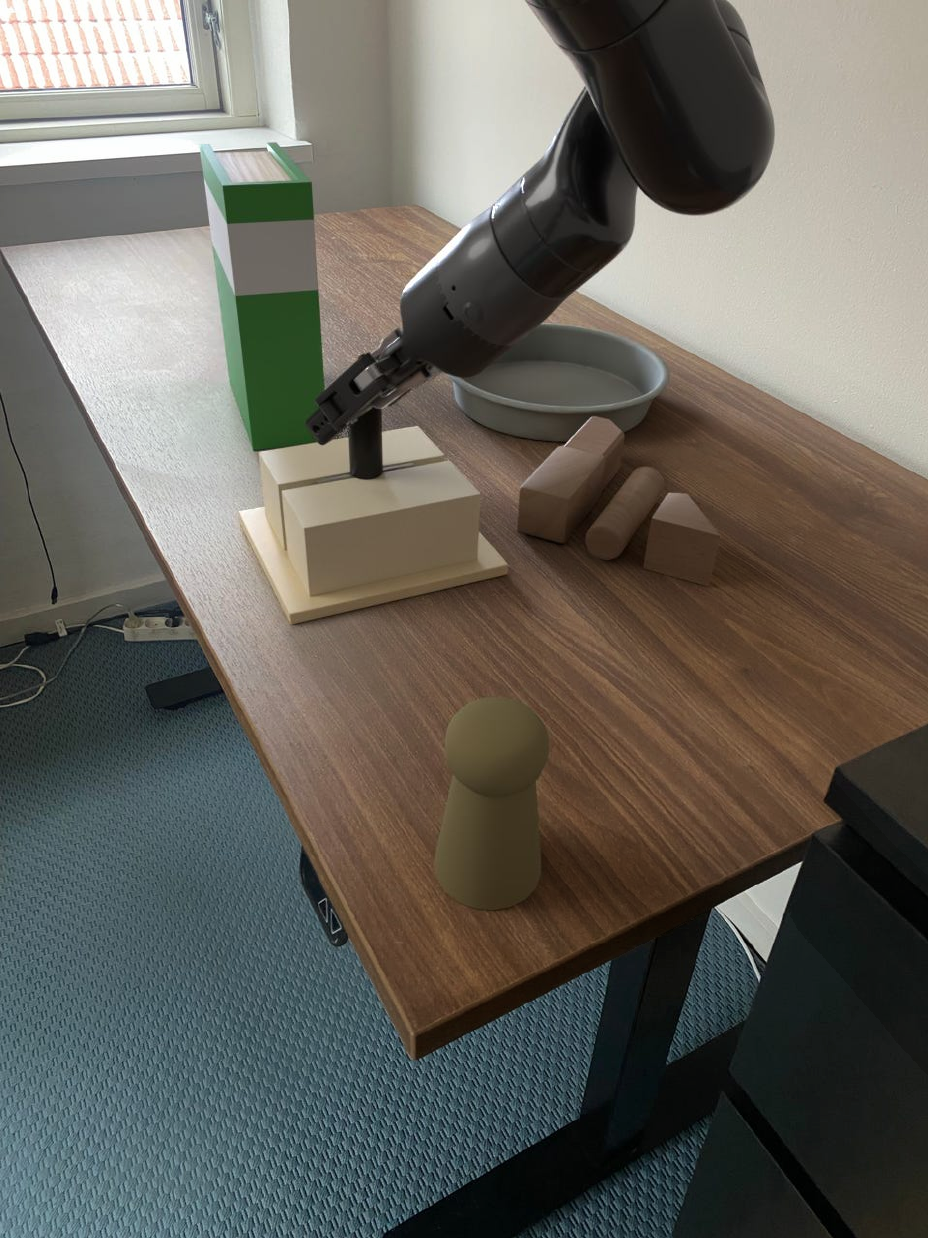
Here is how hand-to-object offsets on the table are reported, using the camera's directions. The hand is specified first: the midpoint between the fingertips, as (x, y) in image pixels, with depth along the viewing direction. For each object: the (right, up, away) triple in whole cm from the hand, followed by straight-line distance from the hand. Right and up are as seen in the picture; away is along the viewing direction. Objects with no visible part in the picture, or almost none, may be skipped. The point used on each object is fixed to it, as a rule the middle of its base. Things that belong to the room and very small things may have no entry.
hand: (350, 413), depth 71 cm
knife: (+1, -9, +6) cm, 11 cm away
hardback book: (-11, +6, +27) cm, 30 cm away
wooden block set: (+24, -7, +12) cm, 28 cm away
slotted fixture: (+1, -10, +6) cm, 12 cm away
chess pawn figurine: (+10, -30, -19) cm, 37 cm away
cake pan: (+18, +8, +32) cm, 38 cm away
